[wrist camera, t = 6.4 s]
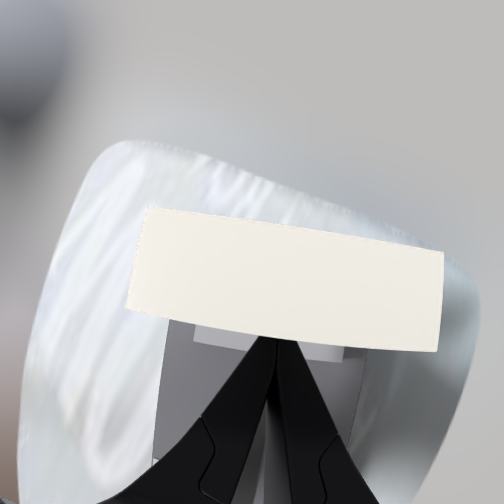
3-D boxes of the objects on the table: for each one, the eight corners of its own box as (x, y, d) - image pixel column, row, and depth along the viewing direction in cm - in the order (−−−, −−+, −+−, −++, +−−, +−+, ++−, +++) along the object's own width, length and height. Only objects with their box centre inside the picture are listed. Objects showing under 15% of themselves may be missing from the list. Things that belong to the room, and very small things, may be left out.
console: (291, 562, 11) (295, 585, 9) (158, 542, 12) (147, 563, 9) (359, 279, 16) (377, 271, 13) (195, 254, 16) (183, 241, 14)
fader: (336, 359, 12) (427, 400, 5) (198, 339, 13) (117, 360, 5) (347, 270, 13) (442, 207, 6) (214, 249, 13) (161, 162, 6)
